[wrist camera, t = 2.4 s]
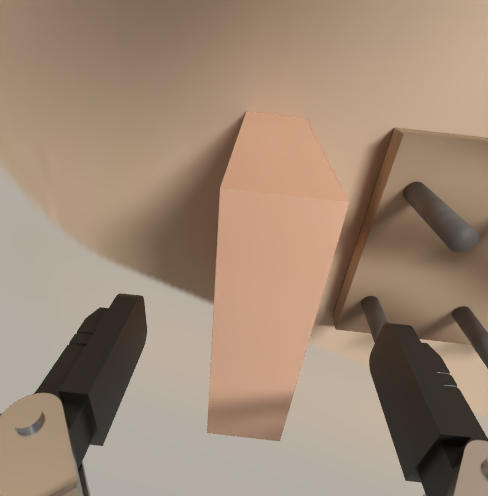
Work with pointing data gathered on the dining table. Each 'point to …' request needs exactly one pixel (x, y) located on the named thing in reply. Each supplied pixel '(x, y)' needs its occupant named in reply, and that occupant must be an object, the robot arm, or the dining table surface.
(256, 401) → the peach chamfered block
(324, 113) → the dining table surface
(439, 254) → the dish rack
